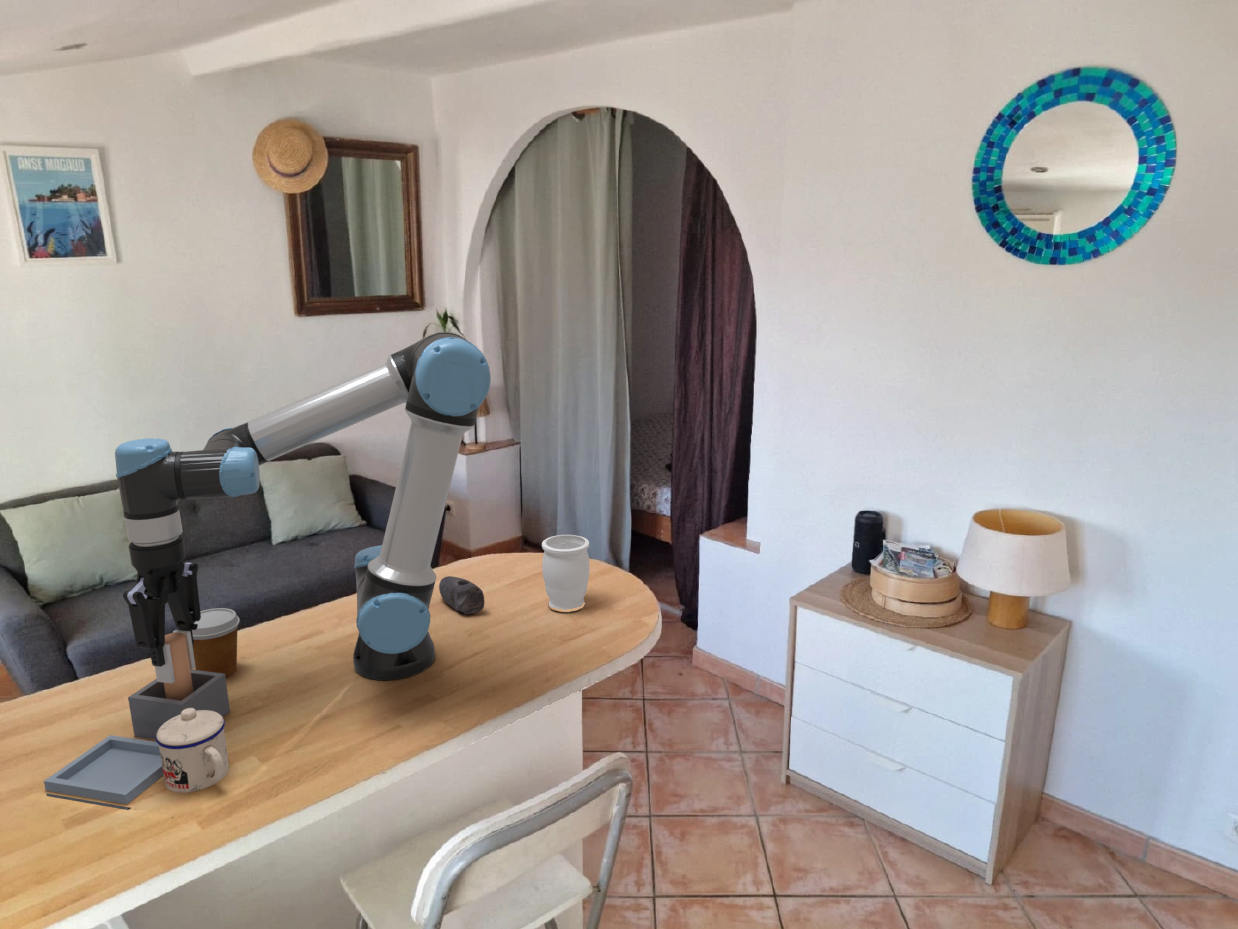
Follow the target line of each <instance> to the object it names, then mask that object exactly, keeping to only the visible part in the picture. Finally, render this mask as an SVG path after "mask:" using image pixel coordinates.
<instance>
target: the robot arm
mask: <svg viewBox="0 0 1238 929" xmlns="http://www.w3.org/2000/svg"><path fill="white" fill-rule="evenodd" d="M491 380H492V379H491V371H490V366H489V363H488V361H487V359H486V357H485V355H484V353H483V352H482V351H481V349H479V347H478V346H476V345H475V344H473V343H472V342H470V341H469V340H467V339H466V338H465V337H463V336H462V335H459V334H457V333H454V332H447V331H443V332H442V331H441V332H436V333H433V334H432V333H431V334H430V335H428V336H425V337H423V338H422V339H420V340H418V341H416V342H415V343H412V344H411V345H409V346H406V347H405V348H402V349H400V350H398V351H396V352H394V353H392V354H389V355H388V357H387V360H386V362H385V363H383V364H381V365H379V366H376V367H374V368H371V369H368V370H366V371H364V372H362V373H360V374H357V375H355V376H353V377H350V378H348V379H345V380H344V381H343V380H342V381H341V382H339V383H336V384H333V385H331V386H328V387H327V388H325V389H322V390H320V391H318V392H315V393H313V394H310V395H308V396H305V397H303V398H300V399H297V400H295V401H294V402H292V403H289V404H286V405H284V406H281V407H280V408H277V409H275V410H273V411H271V412H268V413H265V414H263V415H261V416H258V417H256V418H253V419H251V420H249V421H247V422H245V423H242V424H239V425H237V426H235V427H226V428H223V429H221V430H219V431H217V432H215V433H214V434H212V436H211V437H210V438H208V440H207V442H206V444H205V446H204V448H203V449H201V450H199V449H198V450H191V451H189V450H188V451H173V448H172V447H171V445H170V442H169V441H168V439H164V438H140V439H135V440H128V441H125V442H123V443H121V444H119V445H118V446H117V447H116V449H114V450H115V451H114V458H115V470H116V474H115V477H116V480H117V484H118V489H119V494H120V499H121V506H122V510H123V518H124V519H123V520H124V526H125V532H126V536H127V537H126V538H127V541H129V542H130V543H129V545H128V550H129V557H130V563H131V566H132V567H133V568H134V569H135V571H136V574H137V577H136V580H135V581H136V585H135V586H133V588H132V589H131V590H125V591H124V592H123V594H122V597H123V599H124V600H125V602H126V604H127V605H128V611H129V615H130V619H131V620H130V621H131V625H132V629H133V635H134V638H135V645H136V648H138V649H139V648H140V649H146V650H149V654H150V661H151V664H152V666H153V667H154V668H155V675H156V679H157V682H164V683H173V682H175V677H174V670H173V664H172V657H171V651H170V644H165V635H166V604H168V607H169V610H170V613H171V616H172V619H173V621H174V625H175V628H176V629H175V630H173V631H172V633H183V634H185V638H186V645H187V651H188V658H189V665H190V669H191V670H195V669H196V668H195V660H194V653H193V645H194V640H193V633H192V630H196V629H197V627H198V624H194V623H195V622H196V621H199V620H200V619H201V613H200V611H201V606H200V604H201V603H200V595H199V586H198V578H197V577H198V570H199V565H198V563H195V562H186V561H184V560H185V559H186V556H187V555H186V546H185V539H184V536H182V534H183V532H184V531H183V524H182V520H181V512H180V506H179V501H187V500H198V499H199V500H200V499H201V500H202V499H212V498H226V497H227V498H229V497H230V498H231V497H232V498H237V497H239V496H245V495H252V494H255V493H256V492H258V490H259V488H260V482H261V479H260V478H261V476H260V472H261V471H260V466H262V465H263V464H266V463H268V462H270V461H272V460H274V459H277V458H279V457H281V456H284V455H286V454H288V453H290V452H293V451H296V450H297V449H300V448H302V447H304V446H307V445H309V444H311V443H315V441H318V440H320V439H321V440H322V439H323V438H325V437H328V436H330V435H333V434H335V433H337V432H339V431H341V430H345V429H347V428H349V427H351V426H353V425H355V424H358V423H360V422H362V421H365V420H367V419H370V418H373V417H375V416H377V415H378V414H381V413H384V412H386V411H388V410H390V409H393V408H395V407H398V406H399V405H402V404H405V408H404V411H405V413H406V415H407V416H408V418H409V419H410V422H411V423H410V427H409V432H408V435H407V441H406V444H405V448H404V452H403V457H402V461H401V465H400V469H399V474H398V477H397V482H396V486H395V490H394V494H393V499H392V504H391V506H390V511H389V515H388V520H387V524H386V527H385V532H384V536H383V542H382V543H381V544H382V545H381V544H380V545H374V546H370V547H367V548H363V549H361V550H359V551H358V552H357V553H356V555H355V556H354V565H353V569H354V571H355V580H356V620H355V622H356V623H355V624H356V628H357V630H358V635H357V638H356V643H355V647H354V650H353V656H352V659H353V668H354V670H355V672H356V673H357V674H358V675H359V676H361V677H364V678H366V679H370V680H376V681H392V680H400V679H404V678H409V677H411V676H415V675H417V674H419V673H422V672H423V671H425V670H427V669H429V667H431V666H432V664H433V663H434V661H435V659H436V651H435V649H436V648H435V643H434V641H433V639H432V637H431V634H430V631H429V629H430V624H431V614H430V606H431V601H432V597H433V592H434V590H435V585H436V582H437V574H436V573H435V571H434V570H433V568H432V566H431V563H432V560H433V556H434V552H435V548H436V544H437V541H438V536H439V532H440V527H441V525H442V524H441V523H442V519H443V516H444V513H445V512H444V511H445V507H446V505H447V500H448V495H449V491H450V488H451V483H452V480H453V475H454V472H455V467H456V464H457V460H458V455H459V452H460V447H461V445H462V444H461V443H462V440H463V435H464V434H465V433H466V432H469V431H470V430H471V429H473V428H474V427H475V426H476V422H477V421H476V420H477V419H478V414H479V409H480V406H482V404H483V402H484V401H485V399H486V398H487V397H488V394H489V392H490V387H491V383H492V382H491Z"/></svg>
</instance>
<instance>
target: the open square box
mask: <svg viewBox="0 0 1238 929" xmlns="http://www.w3.org/2000/svg"><path fill="white" fill-rule="evenodd" d="M190 671H191V678H192V685H193V693H191V694H190V695H189V696H187V697H186V698H184V699H183V700H182V701H179V700H172V699H166V694H165V688H164V682H157V678H155V679H154V680H152V681H151V682H149V683H148V684H146V685H144V686H143V687H141V688H140V689H139V690H137V691H135V692H133V693H132V694H130V696H128V697H127V701H128V705H129V712H130V717H131V723H132V724H131V726H132V729H133V730H132V731H133V736H134V737H136V738H140V739H141V738H142V739H147V740H149V739H150V740H153V741H154V740H155V741H156V735H157V732H158V730H159V728H160V727H161V726H162V725H163V724H164V723H165V722H167V721H168V720H170V719H171V718H173V717H175V716H178V715H180V714H181V712H182V711H183V710H184V709H187V708H194V709H195V710H196V711H197V710H210V711H214V712H217V713H219V714H220V715H221V716H222V717H223V718H224V717H225V716H226V715H227V714H229V713H230V712H231V709H230V701H229V694H228V687H227V678H226V677H225V674H223V673H215V672H207V671H199V670H196V669H190Z"/></svg>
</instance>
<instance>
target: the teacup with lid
mask: <svg viewBox="0 0 1238 929" xmlns="http://www.w3.org/2000/svg"><path fill="white" fill-rule="evenodd" d="M225 725H226V721H225V719H224V716H223V717H222V716H221V715H220V714H219V713H217V712H214V711H210V710H197V711H196V710H195V709H194V708H187V709H184V710H183V711H182V712H181V714H180V715H178V716H175V717H173V718H171V719H170V720H168V721H167V722H165V723H164V724H163V725H162V726H161V727H160V728H159V730H158V732H157V735H156V740H155V742H157V743H158V744H159V750H160V756H161V762H162V768H163V779H164V780H163V781H164V785H165V787H166V788H167V790H169V791H172V792H173V793H174V792H175V793H193V792H197V791H201V790H205V789H207V788H209V787H211V786H213V785H215V784H217V783H218V782H220V781H221V780H222V779H223V778H224V777H226V776H227V774H228V772H229V770H230V763H229V757H228V748H227V742H226V735H225Z"/></svg>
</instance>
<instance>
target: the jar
mask: <svg viewBox="0 0 1238 929" xmlns="http://www.w3.org/2000/svg"><path fill="white" fill-rule="evenodd" d="M541 548H542V550H543V551H544V552H543V555H542V564H541V566H542V567H541V568H542V569H541V570H542V576H543V577H542V578H543V582H544V588H545V591H546V594H547V597H548V599H549V600H548V602H549V606H550V607H553V608H556V609H563V610H567V609H573V608H577V607H581V606H582V605H583V603H584V601H585V599H584V598H585V595H586V593H587V591H588V590H587V589H588V583H589V578H590V558H589V557H590V556H589V553H588V549H589V548H590V541H589V540H588V538H586V537H583V536H581V535H575V534H557V535H554V536H553V535H552V536H549V537H547V538H545V539H544V540H543V541H542V542H541Z"/></svg>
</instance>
